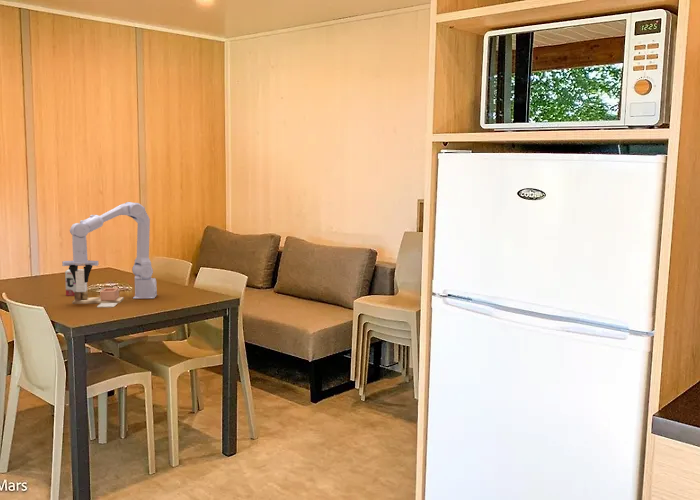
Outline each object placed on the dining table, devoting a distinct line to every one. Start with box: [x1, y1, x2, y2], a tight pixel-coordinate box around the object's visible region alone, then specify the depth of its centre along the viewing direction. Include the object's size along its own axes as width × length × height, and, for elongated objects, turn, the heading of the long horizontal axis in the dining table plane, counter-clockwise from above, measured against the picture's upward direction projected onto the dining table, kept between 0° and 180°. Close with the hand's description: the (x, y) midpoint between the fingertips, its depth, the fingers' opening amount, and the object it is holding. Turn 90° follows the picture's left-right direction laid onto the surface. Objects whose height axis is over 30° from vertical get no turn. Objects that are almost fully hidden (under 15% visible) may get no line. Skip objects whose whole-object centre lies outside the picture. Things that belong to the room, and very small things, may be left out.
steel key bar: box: [75, 270, 88, 292], centre depth 285 cm, size 4×4×9 cm
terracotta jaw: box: [99, 287, 120, 301], centre depth 294 cm, size 6×8×4 cm
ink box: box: [64, 268, 84, 297], centre depth 307 cm, size 9×5×12 cm, turn 101°
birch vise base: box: [71, 290, 125, 305], centre depth 294 cm, size 20×8×6 cm, turn 96°
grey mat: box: [96, 303, 119, 308], centre depth 286 cm, size 7×7×1 cm
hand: (81, 282), depth 285 cm, fingers closed on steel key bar, 4 cm apart
